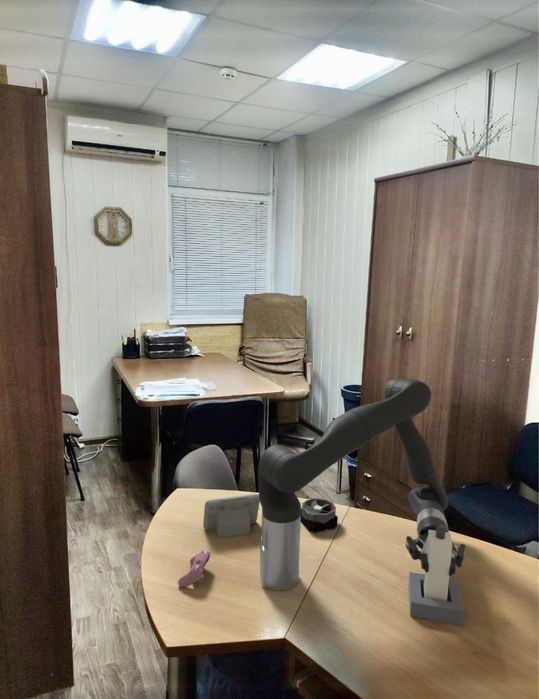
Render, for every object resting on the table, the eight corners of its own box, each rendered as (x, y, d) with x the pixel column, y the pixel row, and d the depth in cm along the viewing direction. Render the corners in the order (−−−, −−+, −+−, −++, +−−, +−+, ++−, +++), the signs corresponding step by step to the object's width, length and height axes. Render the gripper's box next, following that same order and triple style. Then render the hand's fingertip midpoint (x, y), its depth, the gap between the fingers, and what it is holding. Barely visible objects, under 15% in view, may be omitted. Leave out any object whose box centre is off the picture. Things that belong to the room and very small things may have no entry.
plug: (446, 609, 110) (453, 533, 107) (424, 605, 111) (431, 530, 108) (443, 595, 114) (450, 522, 111) (423, 592, 115) (429, 520, 112)
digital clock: (258, 520, 147) (259, 487, 146) (261, 537, 139) (261, 502, 137) (203, 522, 146) (203, 488, 144) (202, 539, 137) (202, 503, 135)
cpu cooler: (325, 495, 152) (342, 511, 143) (325, 512, 153) (341, 529, 144) (295, 500, 148) (310, 517, 139) (294, 518, 149) (309, 535, 140)
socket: (463, 625, 106) (464, 611, 106) (410, 616, 109) (411, 602, 108) (456, 592, 117) (457, 579, 116) (408, 584, 119) (409, 571, 119)
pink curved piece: (191, 596, 116) (204, 573, 114) (175, 585, 116) (187, 563, 115) (204, 570, 126) (216, 549, 124) (189, 561, 126) (201, 540, 124)
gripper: (404, 511, 126) (406, 549, 109) (464, 519, 122) (475, 560, 106) (402, 538, 127) (404, 580, 111) (461, 547, 124) (472, 591, 107)
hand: (439, 570), depth 108 cm, fingers closed on plug, 4 cm apart
